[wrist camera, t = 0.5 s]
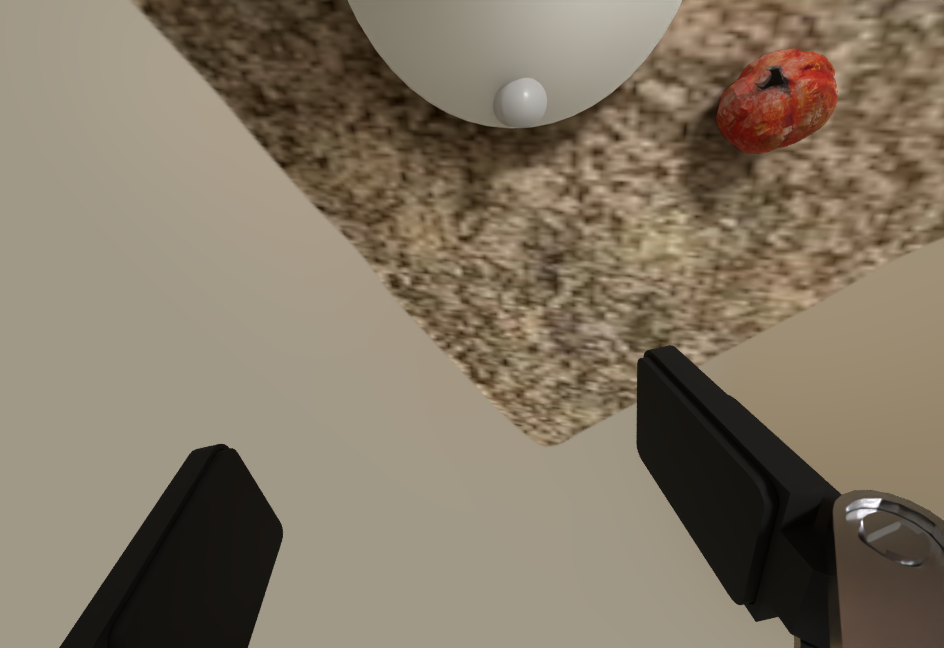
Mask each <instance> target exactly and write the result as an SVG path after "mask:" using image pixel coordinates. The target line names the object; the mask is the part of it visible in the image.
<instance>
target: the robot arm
mask: <svg viewBox="0 0 944 648" xmlns="http://www.w3.org/2000/svg"><path fill="white" fill-rule="evenodd" d="M637 449H638V453H639V455H640V458H641V459H642V461H643V463H644V464H645V466H646V467H647V469H648V470H649V472H650V474H651V475H652V476H653V478H654V480H655V481H656V483H657V484H658V486H659V488H660V489H661V491H662V492H663V494H664V495H665V497H666V498H667V500H668V501H669V503H670V505H671V506H672V508H673V509H674V511H675V512H676V514H677V515H678V517H679V518H680V520H681V521H682V523H683V524H684V526H685V528H686V529H687V531H688V532H689V534H690V536H691V537H692V539H693V540H694V542H695V543H696V545H697V546H698V548H699V550H700V551H701V553H702V554H703V556H704V557H705V559H706V560H707V562H708V563H709V565H710V567H711V568H712V569H713V571H714V573H715V574H716V576H717V577H718V579H719V580H720V582H721V584H722V585H723V587H724V588H725V590H726V591H727V593H728V594H729V596H730V597H731V599H732V600H733V601H734V602H735V603H736V604H738V605H743V604H744V605H745V606H746V608H747V609H748V611H749V612H750V614H751V615H752V617H753V618H754V620H755V621H756V622H758V621H762V620H766V619H771V618H775V617H779V618H780V620H781V621H782V622H783V624H784V625H785V627H786V628H787V629H788V631H789V632H790V633H791V634H792V635H794V648H944V520H942V519H941V518H940V517H938V516H937V515H935V514H934V513H932V512H931V511H930V510H928V509H926V508H924V507H922V506H920V505H918V504H916V503H914V502H912V501H910V500H907V499H904V498H901V497H899V496H895V495H893V494H890V493H884V492H879V491H873V490H854V491H851V492H848V493H845V494H842V495H841V494H840V493H839V492H838V491H837V490H836V489H835V488H833V486H831V485H830V484H829V483H828V482H827V481H826V480H824V478H823V477H821V476H820V475H819V474H818V473H817V472H816V471H815V470H814V469H812V468H811V467H810V466H809V465H808V464H807V463H806V462H805V461H804V460H802V459H801V458H800V457H799V456H798V455H797V454H796V453H795V452H794V451H792V450H791V449H790V448H789V447H788V446H787V445H786V444H785V443H784V442H782V441H781V440H780V439H779V438H778V437H777V436H776V435H775V434H774V433H773V432H771V431H770V430H769V429H768V428H767V427H766V426H765V425H764V424H763V423H761V422H760V421H759V420H758V419H757V418H756V417H755V416H754V415H753V414H751V413H750V412H749V411H748V410H747V409H746V408H745V407H744V406H743V405H741V404H740V403H739V402H738V401H737V400H736V399H734V398H733V397H731V396H730V395H727V394H726V393H725V392H724V391H723V390H722V389H721V388H720V387H719V386H717V385H716V384H715V383H714V382H713V381H712V380H711V379H710V378H709V377H708V376H706V375H705V374H704V373H703V372H702V371H701V370H700V369H699V368H698V367H697V366H695V365H694V364H693V363H692V362H691V361H690V360H689V359H688V358H687V357H686V356H684V355H683V354H682V353H681V352H680V351H679V350H678V349H677V348H675V347H674V346H671V345H669V346H665V347H660V348H656V349H651V350H647V351H646V352H645V353H644V358H640V359H639V360H638V363H637ZM282 538H283V529H282V525H281V523H280V521H279V519H278V518H277V516H276V515H275V513H274V511H273V510H272V508H271V506H270V505H269V503H268V501H267V500H266V498H265V496H264V495H263V493H262V492H261V490H260V488H259V487H258V485H257V483H256V482H255V480H254V479H253V477H252V475H251V474H250V472H249V470H248V469H247V467H246V465H245V464H244V462H243V461H242V459H241V457H240V456H239V454H238V453H237V452H236V450H235V449H233V448H229V447H228V446H226V445H225V444H217V445H213V446H208V447H204V448H200V449H196V450H194V451H192V452H191V454H189V456H188V457H187V459H186V460H185V462H184V463H183V465H182V466H181V468H180V469H179V471H178V472H177V474H176V475H175V477H174V478H173V480H172V481H171V483H170V484H169V485H168V487H167V489H166V490H165V491H164V493H163V494H162V496H161V497H160V499H159V500H158V502H157V503H156V505H155V507H154V508H153V509H152V511H151V512H150V514H149V515H148V517H147V518H146V520H145V521H144V523H143V524H142V526H141V527H140V529H139V530H138V532H137V533H136V535H135V536H134V538H133V539H132V540H131V542H130V543H129V545H128V546H127V548H126V550H125V551H124V552H123V554H122V556H121V557H120V558H119V560H118V562H117V563H116V564H115V566H114V567H113V569H112V570H111V572H110V573H109V575H108V576H107V578H106V579H105V581H104V582H103V584H102V585H101V587H100V588H99V590H98V591H97V593H96V594H95V596H94V597H93V598H92V600H91V601H90V603H89V604H88V606H87V608H86V609H85V610H84V612H83V614H82V615H81V616H80V618H79V620H78V621H77V622H76V624H75V625H74V627H73V628H72V630H71V631H70V633H69V634H68V636H67V637H66V639H65V640H64V642H63V643H62V645H61V646H60V647H59V648H248V645H249V642H250V639H251V636H252V633H253V630H254V626H255V623H256V620H257V617H258V614H259V611H260V608H261V605H262V602H263V598H264V595H265V592H266V589H267V586H268V583H269V579H270V576H271V573H272V570H273V567H274V564H275V561H276V558H277V555H278V552H279V548H280V545H281V542H282Z"/></svg>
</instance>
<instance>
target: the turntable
mask: <svg viewBox="0 0 944 648" xmlns="http://www.w3.org/2000/svg"><path fill="white" fill-rule="evenodd" d="M348 2H349V4H350V6H351V8H352V11H353V13H354V15H355V17H356V19H357V21H358V23H359V24H360V26H361V27H362V29H363V31H364V32H365V34H366V35H367V37H368V39H369V40H370V42H371V43H372V45H373V47H374V48H375V50H376V51H377V52H378V54H379V55H380V56H381V57H382V59H383V60H384V61H385V62H386V64H387V65H388V66H389V67H390V69H391V70H392V71H393V72H394V73H395V74H396V75H397V76H398V77H399V78H400V79H401V80H402V81H403V82H404V83H405V84H406V85H407V86H408V87H409V88H410V89H412V90H413V91H414V92H416V93H417V94H418V95H420V96H421V97H422V98H423V99H425V100H426V101H427V102H429V103H431V104H432V105H434V106H436V107H437V108H439V109H441V110H443V111H444V112H446V113H448V114H451V115H453V116H456V117H458V118H461V119H463V120H465V121H468V122H473V123H477V124H481V125H485V126H491V127H502V128H528V127H536V126H541V125H546V124H551V123H555V122H557V121H560V120H563V119H566V118H569V117H572V116H574V115H576V114H578V113H580V112H582V111H584V110H586V109H588V108H590V107H592V106H593V105H595V104H596V103H598V102H599V101H601V100H602V99H604V98H605V97H606V96H608V95H609V94H611V93H612V92H613V91H614V90H616V89H617V88H618V87H619V86H620V85H621V84H622V83H624V82H625V81H626V80H627V79H628V78H629V77H630V76H631V75H632V74H633V73H634V72H635V71H636V70H637V68H638V67H639V66H640V65H641V64H642V63H643V62H644V61H645V60H646V59H647V57H648V56H649V55H650V53H651V52H652V50H653V49H654V48H655V46H656V45H657V44H658V42H659V41H660V39H661V38H662V37H663V35H664V33H665V32H666V30H667V28H668V26H669V25H670V23H671V21H672V20H673V18H674V16H675V14H676V13H677V11H678V9H679V6H680V4H681V2H682V0H348Z"/></svg>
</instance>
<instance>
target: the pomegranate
mask: <svg viewBox="0 0 944 648" xmlns="http://www.w3.org/2000/svg"><path fill="white" fill-rule="evenodd" d="M834 75H835V70H834V68H833V66H832V64H831V63H830V62H829V61H828V59H827V58H826V57H824V56H823V55H820V54H817V53H814V52H802V51H801V50H799V49H784V50H778V51H775V52H771V53H768V54H765V55H763V56H761V57H759V58H758V60H756V61H754V62H752V63H751V64H749V65H748V66H746V68H745V69H744V70H743V72H742V73H741V75H740V77H739V78H738V80H737V81H736V82H734V83H733V84H732V85H731V86H729V88H728V89H726V90H725V91H724V93H723V94H722V97H721V100H720V103H719V108H718V111H717V115H716V122H717V124H718V128H719V130H720V131H721V134H722V135H723V136H724V137H725V138H726V139H727V141H729V142H731V143H732V144H733V145H734V146H736V147H738V148H739V149H740V151H741V152H744V153H751V154H760V153H765V152H769V151H771V150H774V149H777V148H782V147H785V146H788V145H791V144H794V143H796V142H798V141H800V140H802V139H804V138H806V137H807V136H809V135H811V134H812V133H814V132H815V131H817V130H818V129H820V128H821V127H822V126H823V125H824V124H825V123H826V122H827V121H828V119H829V118H830V116H831V115H832V113H833V111H834V109H835V107H836V103H837V99H838V94H837V93H838V91H837V85H836V81H835V79H834Z"/></svg>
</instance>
